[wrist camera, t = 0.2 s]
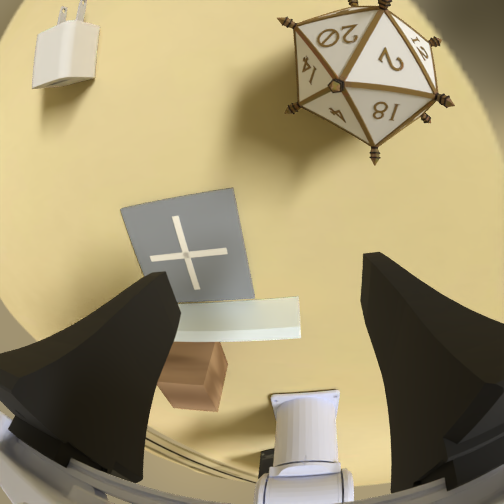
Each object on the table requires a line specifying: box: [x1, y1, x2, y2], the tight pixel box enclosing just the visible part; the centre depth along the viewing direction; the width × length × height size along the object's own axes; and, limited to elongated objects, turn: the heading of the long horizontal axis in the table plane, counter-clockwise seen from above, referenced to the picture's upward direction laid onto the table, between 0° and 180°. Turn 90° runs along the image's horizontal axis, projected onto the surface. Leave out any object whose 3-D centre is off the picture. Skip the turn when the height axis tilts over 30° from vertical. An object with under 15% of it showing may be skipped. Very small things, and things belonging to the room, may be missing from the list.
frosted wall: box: [174, 296, 301, 342], centre depth 22 cm, size 1×16×4 cm, turn 99°
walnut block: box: [157, 342, 228, 412], centre depth 24 cm, size 4×4×6 cm
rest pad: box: [120, 188, 255, 302], centre depth 21 cm, size 9×9×1 cm
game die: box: [277, 0, 455, 165], centre depth 11 cm, size 9×8×10 cm
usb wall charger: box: [32, 0, 100, 89], centre depth 12 cm, size 4×7×4 cm, turn 176°
